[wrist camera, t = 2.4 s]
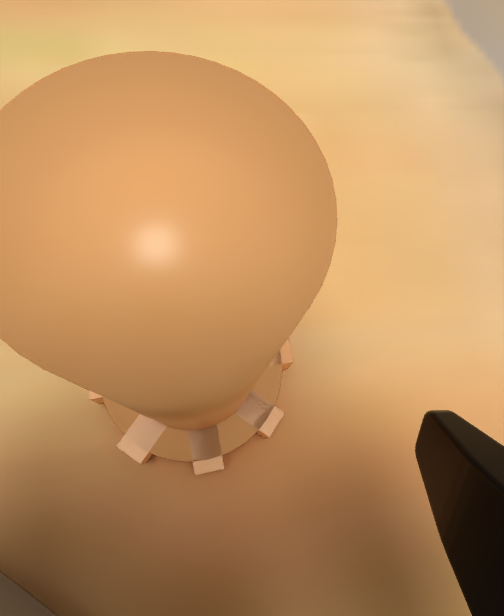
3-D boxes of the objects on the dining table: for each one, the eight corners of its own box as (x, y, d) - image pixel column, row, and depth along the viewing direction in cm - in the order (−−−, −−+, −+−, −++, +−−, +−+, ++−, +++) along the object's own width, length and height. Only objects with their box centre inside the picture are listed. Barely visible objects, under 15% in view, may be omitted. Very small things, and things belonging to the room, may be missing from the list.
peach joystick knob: (320, 349, 18) (541, 151, 6) (216, 513, 16) (231, 717, 4) (174, 252, 19) (105, -105, 7) (57, 397, 17) (-353, 268, 5)
